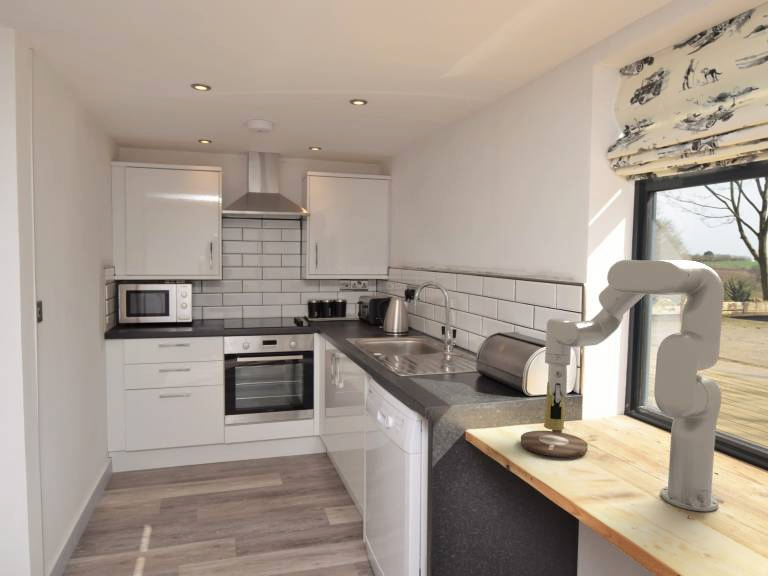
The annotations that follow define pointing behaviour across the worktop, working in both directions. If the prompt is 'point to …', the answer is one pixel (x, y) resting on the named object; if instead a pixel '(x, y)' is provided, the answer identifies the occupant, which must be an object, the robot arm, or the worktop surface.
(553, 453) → the turntable
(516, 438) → the worktop surface
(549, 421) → the vase
